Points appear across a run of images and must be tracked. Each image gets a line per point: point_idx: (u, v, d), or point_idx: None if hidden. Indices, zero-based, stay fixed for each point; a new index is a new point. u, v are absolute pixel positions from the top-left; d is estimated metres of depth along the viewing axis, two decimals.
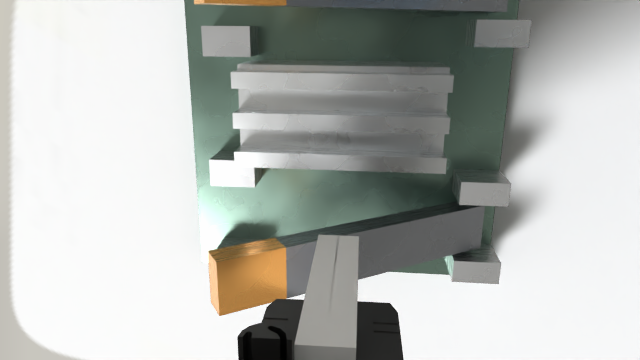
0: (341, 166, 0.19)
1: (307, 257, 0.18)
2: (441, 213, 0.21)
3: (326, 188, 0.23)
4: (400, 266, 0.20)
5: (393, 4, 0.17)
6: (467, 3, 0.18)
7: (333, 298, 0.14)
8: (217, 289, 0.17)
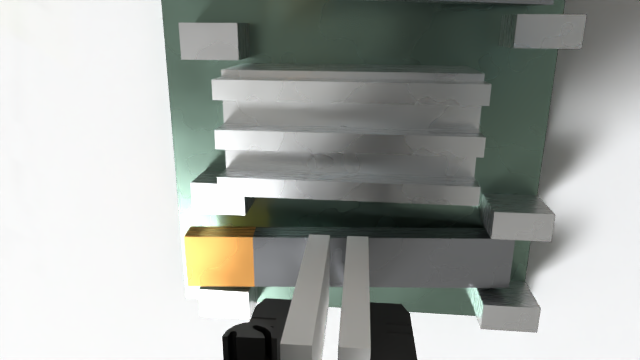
0: (348, 196, 0.15)
1: (276, 251, 0.18)
2: (448, 237, 0.18)
3: (330, 215, 0.20)
4: (390, 285, 0.19)
5: None
6: None
7: (345, 299, 0.14)
8: (186, 261, 0.18)
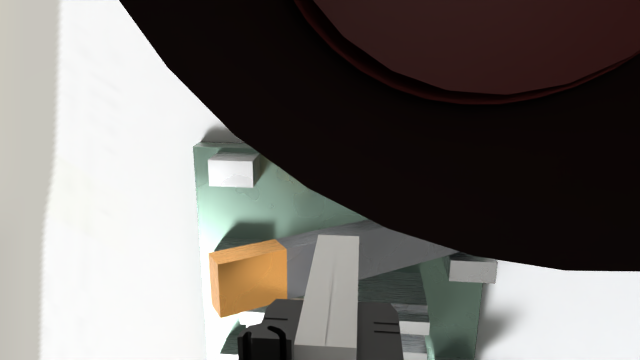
0: None
1: None
2: None
3: None
4: None
5: (377, 271, 0.20)
6: (442, 251, 0.21)
7: (333, 298, 0.14)
8: None
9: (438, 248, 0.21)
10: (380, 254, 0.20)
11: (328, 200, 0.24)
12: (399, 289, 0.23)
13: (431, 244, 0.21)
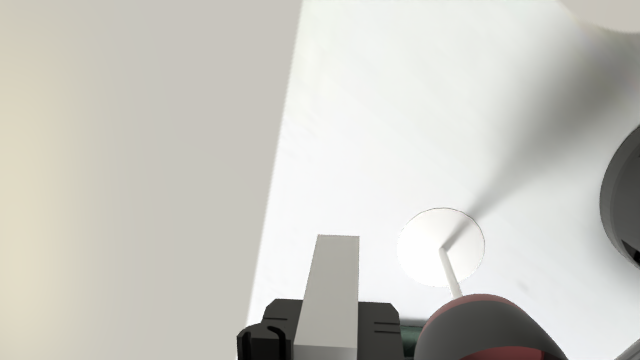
0: None
1: None
2: None
3: None
4: None
5: None
6: None
7: (334, 298, 0.14)
8: None
9: None
10: None
11: None
12: None
13: None
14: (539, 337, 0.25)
